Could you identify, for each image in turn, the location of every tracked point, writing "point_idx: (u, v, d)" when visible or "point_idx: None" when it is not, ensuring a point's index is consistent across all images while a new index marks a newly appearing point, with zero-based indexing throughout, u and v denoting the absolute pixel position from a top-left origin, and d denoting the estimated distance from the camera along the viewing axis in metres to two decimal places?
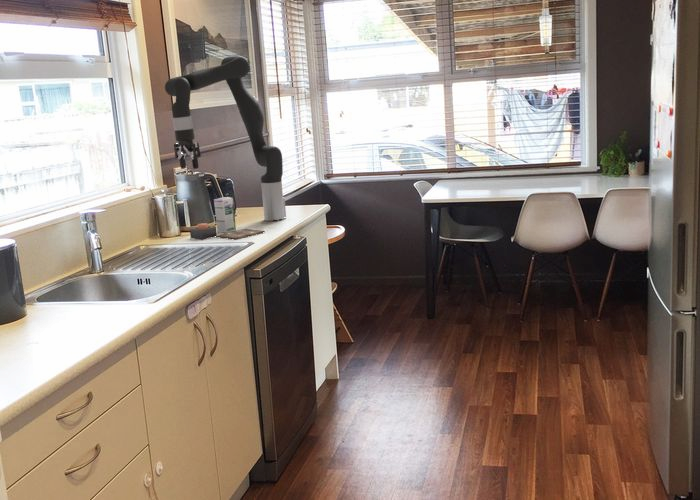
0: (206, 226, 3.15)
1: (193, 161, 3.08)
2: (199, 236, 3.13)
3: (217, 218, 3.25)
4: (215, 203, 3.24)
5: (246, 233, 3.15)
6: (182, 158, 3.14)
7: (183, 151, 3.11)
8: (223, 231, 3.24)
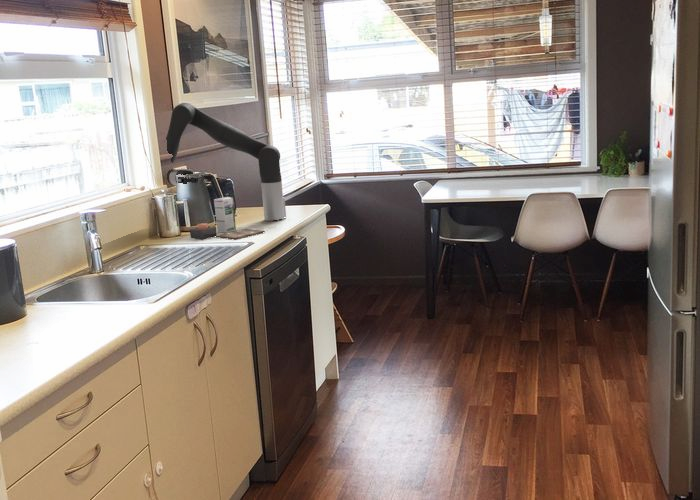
0: (206, 226, 3.15)
1: (192, 182, 3.28)
2: (199, 236, 3.13)
3: (217, 218, 3.25)
4: (215, 203, 3.24)
5: (246, 233, 3.15)
6: (206, 177, 3.35)
7: None
8: (223, 231, 3.24)
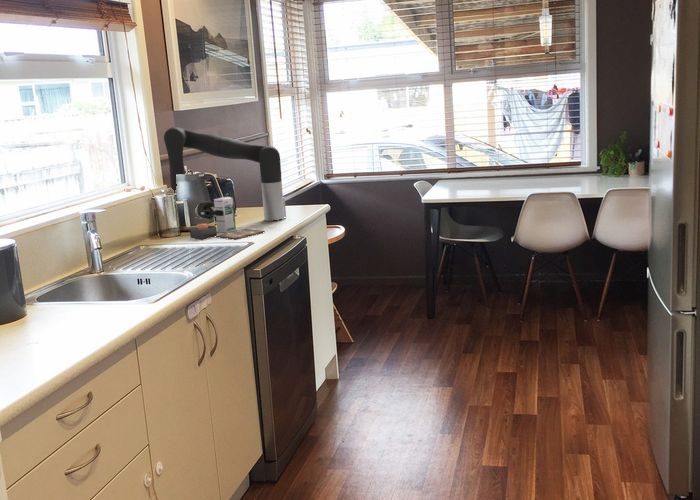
0: (206, 226, 3.15)
1: (217, 215, 3.23)
2: (199, 236, 3.13)
3: (217, 218, 3.25)
4: (215, 203, 3.24)
5: (246, 233, 3.15)
6: None
7: None
8: (223, 231, 3.24)
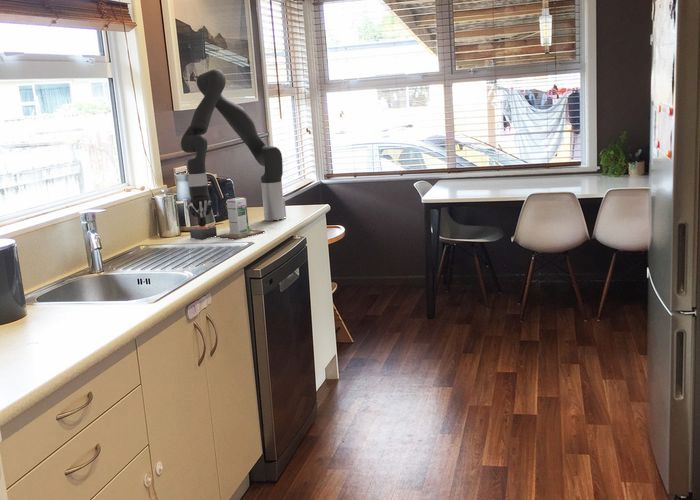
0: None
1: (204, 218, 3.15)
2: (199, 236, 3.13)
3: (230, 219, 3.14)
4: (228, 204, 3.13)
5: (246, 233, 3.15)
6: None
7: (202, 204, 3.14)
8: (236, 233, 3.14)
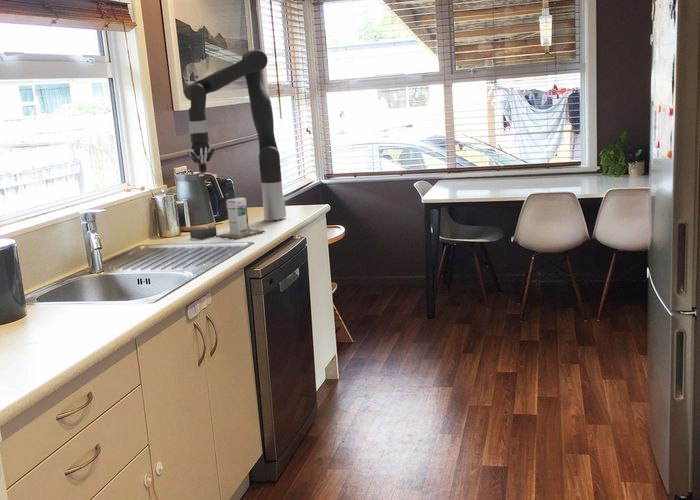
0: None
1: (205, 165, 3.29)
2: (199, 236, 3.13)
3: (230, 219, 3.14)
4: (228, 204, 3.13)
5: (246, 233, 3.15)
6: None
7: (202, 151, 3.27)
8: (236, 233, 3.14)
